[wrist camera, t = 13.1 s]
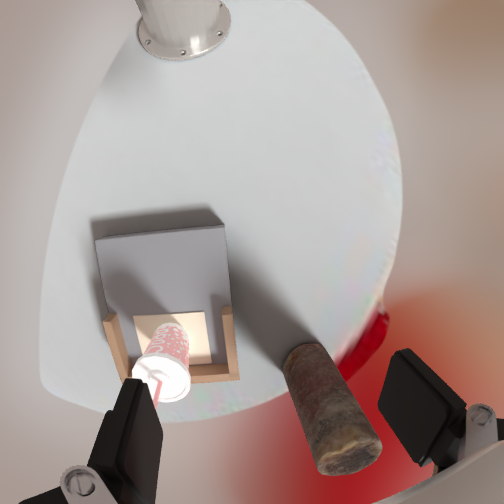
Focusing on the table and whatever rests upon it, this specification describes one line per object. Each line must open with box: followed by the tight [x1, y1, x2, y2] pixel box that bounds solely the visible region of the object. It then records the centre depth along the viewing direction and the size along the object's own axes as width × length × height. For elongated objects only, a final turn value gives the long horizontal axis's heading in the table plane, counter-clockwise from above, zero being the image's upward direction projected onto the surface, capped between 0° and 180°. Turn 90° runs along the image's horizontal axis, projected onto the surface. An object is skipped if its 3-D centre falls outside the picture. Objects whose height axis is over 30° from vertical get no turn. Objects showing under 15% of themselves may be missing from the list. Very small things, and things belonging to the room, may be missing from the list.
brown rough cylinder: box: [282, 343, 382, 476], centre depth 31 cm, size 8×7×20 cm
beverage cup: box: [132, 323, 191, 410], centre depth 27 cm, size 6×6×14 cm
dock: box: [95, 225, 240, 384], centre depth 33 cm, size 19×16×6 cm
